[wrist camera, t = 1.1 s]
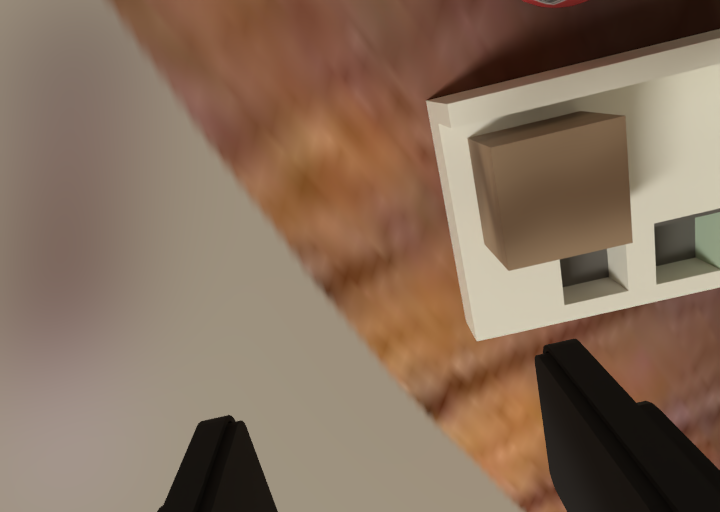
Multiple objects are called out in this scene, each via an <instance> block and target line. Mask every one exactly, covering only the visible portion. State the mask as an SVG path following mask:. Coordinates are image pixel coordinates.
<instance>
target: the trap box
mask: <svg viewBox="0 0 720 512" xmlns="http://www.w3.org/2000/svg"><path fill="white" fill-rule="evenodd" d="M426 103H427V109H428V114H429V120H430V125H431V131H432V136H433V142H434V147H435V153H436V158H437V164H438V169H439V175H440V180H441V186H442V191H443V197H444V202H445V208H446V213H447V219H448V224H449V230H450V235H451V241H452V246H453V252H454V257H455V263H456V268H457V274H458V279H459V285H460V290H461V296H462V301H463V307H464V313H465V318H466V322H467V324H468V326H469V328H470V330H471V332H472V333H473V335H474V337H475V339H476V341H481V340H486V339H490V338H494V337H499V336H503V335H508V334H512V333H517V332H521V331H526V330H530V329H535V328H539V327H544V326H548V325H553V324H557V323H562V322H566V321H571V320H575V319H580V318H584V317H589V316H593V315H598V314H602V313H607V312H611V311H616V310H620V309H625V308H629V307H634V306H638V305H643V304H647V303H652V302H656V301H661V300H665V299H670V298H674V297H679V296H683V295H687V294H692V293H696V292H701V291H705V290H710V289H714V288H719V287H720V29H717V30H713V31H709V32H705V33H701V34H697V35H693V36H689V37H685V38H680V39H676V40H672V41H668V42H664V43H660V44H656V45H652V46H648V47H644V48H639V49H635V50H631V51H627V52H623V53H619V54H615V55H611V56H607V57H603V58H599V59H594V60H590V61H586V62H582V63H578V64H574V65H570V66H566V67H562V68H558V69H553V70H549V71H545V72H541V73H537V74H533V75H529V76H525V77H521V78H517V79H512V80H508V81H504V82H500V83H496V84H492V85H488V86H484V87H480V88H476V89H471V90H467V91H463V92H459V93H455V94H451V95H447V96H443V97H439V98H435V99H430V100H426ZM578 111H586V112H595V113H605V114H614V115H624V116H626V134H627V151H628V169H629V186H630V204H631V221H632V239H633V243H630V244H625V245H621V246H616V247H612V248H608V249H603V250H599V251H595V252H590V253H586V254H581V255H577V256H573V257H568V258H564V259H559V260H555V261H551V262H546V263H542V264H538V265H533V266H529V267H524V268H520V269H516V270H511V271H508V270H507V269H506V268H505V267H504V265H503V264H502V263H501V262H500V261H499V260H498V259H497V258H496V257H495V255H494V254H493V253H492V252H491V251H490V250H489V249H488V248H487V247H486V245H485V244H484V239H483V233H482V227H481V221H480V214H479V208H478V202H477V195H476V189H475V183H474V177H473V170H472V164H471V158H470V152H469V145H468V139H467V138H470V137H474V136H478V135H483V134H487V133H491V132H495V131H499V130H503V129H508V128H512V127H516V126H520V125H524V124H528V123H533V122H537V121H541V120H545V119H549V118H553V117H558V116H562V115H566V114H570V113H574V112H578Z"/></svg>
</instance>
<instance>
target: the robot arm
mask: <svg viewBox="0 0 720 512" xmlns="http://www.w3.org/2000/svg"><path fill="white" fill-rule="evenodd" d="M535 367H536V375H537V382H538V389H539V397H540V404H541V412H542V419H543V426H544V434H545V441H546V448H547V456H548V463H549V470H550V475H551V478H552V481H553V484H554V487H555V489H556V491H557V493H558V495H559V497H560V499H561V501H562V503H563V505H564V506H565V508H566V510H567V512H720V470H719V469H718V468H717V467H716V466H715V465H714V464H713V463H712V462H711V461H710V460H709V459H708V458H707V457H706V456H705V455H704V454H703V453H702V452H701V451H700V450H699V449H698V448H697V447H696V446H695V445H694V444H693V443H692V442H691V441H690V440H689V439H688V438H687V437H686V436H685V435H684V434H683V433H682V432H681V431H680V430H679V429H678V428H677V427H676V426H675V425H674V424H673V423H672V422H671V420H670V419H669V418H668V417H667V416H666V415H665V414H664V413H663V412H662V411H661V410H660V409H659V408H657V407H656V406H655V405H654V404H653V403H651V402H648V401H643V402H639V403H636V402H635V401H634V400H633V399H632V398H631V397H630V396H629V395H628V393H627V392H626V391H625V390H624V389H623V388H622V387H621V386H620V385H619V384H618V383H617V382H616V381H615V379H614V378H613V377H612V376H611V375H610V374H609V373H608V372H607V371H606V370H605V369H604V368H603V367H602V365H601V364H600V363H599V362H598V361H597V360H596V359H595V358H594V357H593V356H592V355H591V354H590V353H589V351H588V350H587V349H586V348H585V347H584V346H583V345H582V344H581V343H580V342H579V341H578V340H577V339H571V340H566V341H562V342H557V343H553V344H548V345H545V346H544V348H543V354H541V355H536V356H535ZM157 512H278V511H277V509H276V506H275V503H274V501H273V498H272V495H271V492H270V490H269V487H268V484H267V482H266V479H265V476H264V473H263V471H262V468H261V465H260V463H259V460H258V457H257V454H256V452H255V449H254V447H253V444H252V441H251V438H250V436H249V433H248V431H247V427H246V425H245V423H244V422H243V421H237V422H235V420H234V418H233V417H232V416H230V415H228V416H224V417H218V418H214V419H210V420H205V421H201V422H200V423H199V424H198V426H197V428H196V430H195V432H194V435H193V437H192V439H191V442H190V444H189V446H188V449H187V451H186V453H185V456H184V458H183V461H182V463H181V465H180V468H179V470H178V472H177V475H176V477H175V480H174V482H173V484H172V486H171V489H170V491H169V493H168V496H167V498H166V501H165V503H164V505H163V506H162V507H161V508H159V510H158V511H157Z"/></svg>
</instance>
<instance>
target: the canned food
mask: <svg viewBox="0 0 720 512" xmlns="http://www.w3.org/2000/svg"><path fill="white" fill-rule="evenodd" d="M522 1H524V2H527V3H530V4H533V5H536V6H539V7H550V8H560V7H569V6H574V5H577V4H580V3H583V2H586V1H589V0H522Z"/></svg>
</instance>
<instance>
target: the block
mask: <svg viewBox="0 0 720 512" xmlns="http://www.w3.org/2000/svg"><path fill="white" fill-rule="evenodd" d="M467 139H468V145H469V152H470V158H471V164H472V170H473V177H474V183H475V189H476V195H477V202H478V208H479V214H480V221H481V227H482V233H483V239H484V244H485V245H486V247H487V248H488V249H489V250H490V251H491V252H492V253H493V254H494V255H495V257H496V258H497V259H498V260H499V261H500V262H501V263H502V264H503V265H504V267H505V268H506V269H507V270H508V271H511V270H516V269H520V268H524V267H529V266H533V265H538V264H542V263H546V262H551V261H555V260H559V259H564V258H568V257H573V256H577V255H581V254H586V253H590V252H595V251H599V250H603V249H608V248H612V247H616V246H621V245H625V244H630V243H633V239H632V221H631V204H630V186H629V169H628V151H627V134H626V116H624V115H614V114H605V113H595V112H586V111H578V112H574V113H570V114H566V115H562V116H558V117H553V118H549V119H545V120H541V121H537V122H533V123H528V124H524V125H520V126H516V127H512V128H508V129H503V130H499V131H495V132H491V133H487V134H483V135H478V136H474V137H470V138H467Z"/></svg>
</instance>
